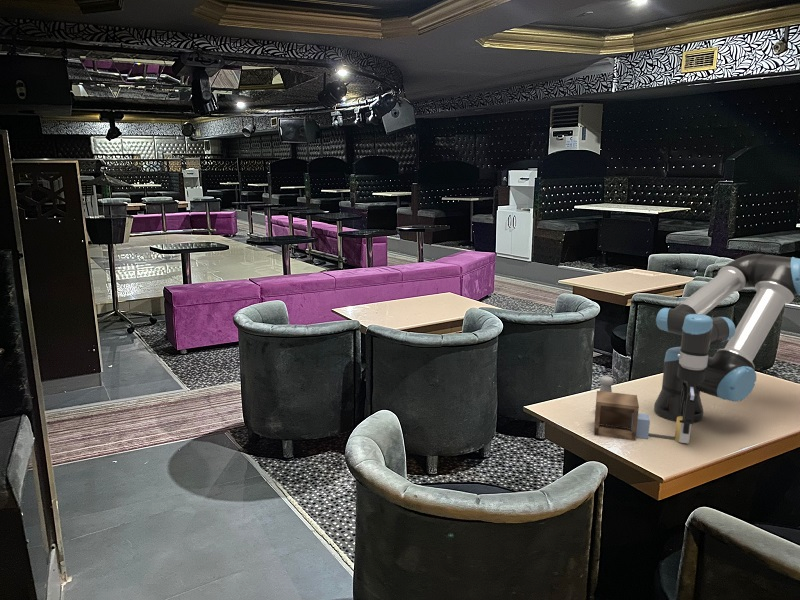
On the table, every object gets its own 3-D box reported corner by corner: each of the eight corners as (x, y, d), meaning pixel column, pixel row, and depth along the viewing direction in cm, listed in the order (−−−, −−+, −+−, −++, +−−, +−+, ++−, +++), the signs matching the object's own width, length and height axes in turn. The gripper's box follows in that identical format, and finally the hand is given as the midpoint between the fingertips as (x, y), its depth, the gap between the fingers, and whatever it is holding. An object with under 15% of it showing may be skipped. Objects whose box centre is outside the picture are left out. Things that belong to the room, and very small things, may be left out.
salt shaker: (592, 410, 203) (595, 374, 201) (608, 409, 204) (611, 374, 201) (599, 417, 198) (602, 380, 195) (615, 416, 198) (619, 379, 196)
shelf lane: (633, 427, 190) (636, 395, 187) (635, 440, 180) (638, 406, 178) (594, 422, 193) (597, 390, 191) (594, 435, 184) (597, 401, 182)
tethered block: (686, 437, 183) (688, 416, 181) (688, 444, 178) (691, 422, 177) (630, 430, 188) (632, 409, 186) (630, 436, 183) (632, 415, 182)
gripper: (675, 357, 185) (666, 427, 190) (681, 373, 169) (672, 449, 174) (701, 359, 182) (692, 430, 187) (711, 376, 167) (700, 453, 172)
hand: (682, 439), depth 181 cm, fingers closed on tethered block, 3 cm apart
